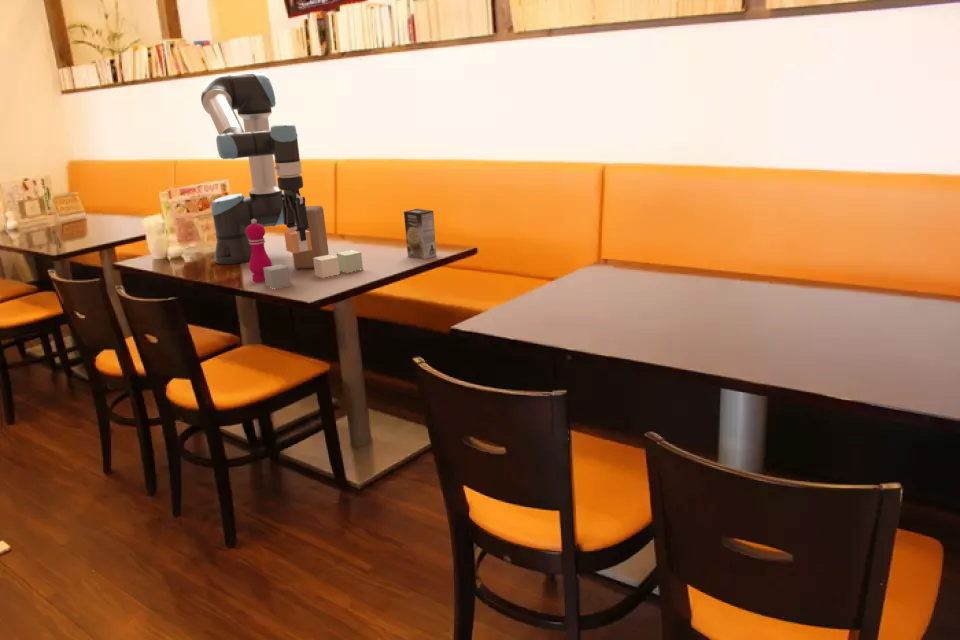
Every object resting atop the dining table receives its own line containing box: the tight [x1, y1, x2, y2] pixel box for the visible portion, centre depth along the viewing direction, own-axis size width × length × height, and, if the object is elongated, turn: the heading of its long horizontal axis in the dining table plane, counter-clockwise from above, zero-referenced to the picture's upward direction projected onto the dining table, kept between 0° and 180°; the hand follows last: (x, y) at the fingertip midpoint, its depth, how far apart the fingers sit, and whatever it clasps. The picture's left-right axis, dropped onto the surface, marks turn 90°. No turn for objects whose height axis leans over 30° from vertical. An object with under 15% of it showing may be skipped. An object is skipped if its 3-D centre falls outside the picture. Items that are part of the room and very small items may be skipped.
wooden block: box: [292, 205, 330, 270], centre depth 263 cm, size 10×10×20 cm
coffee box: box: [403, 208, 437, 260], centre depth 267 cm, size 9×6×16 cm
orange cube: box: [283, 230, 312, 254], centre depth 243 cm, size 6×6×6 cm
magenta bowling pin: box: [246, 219, 273, 283], centre depth 248 cm, size 7×7×20 cm
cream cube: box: [313, 254, 341, 279], centre depth 251 cm, size 6×6×6 cm
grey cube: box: [263, 263, 292, 290], centre depth 241 cm, size 6×6×6 cm
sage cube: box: [336, 249, 364, 274], centre depth 255 cm, size 6×6×6 cm
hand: (299, 248), depth 244 cm, fingers closed on orange cube, 6 cm apart
